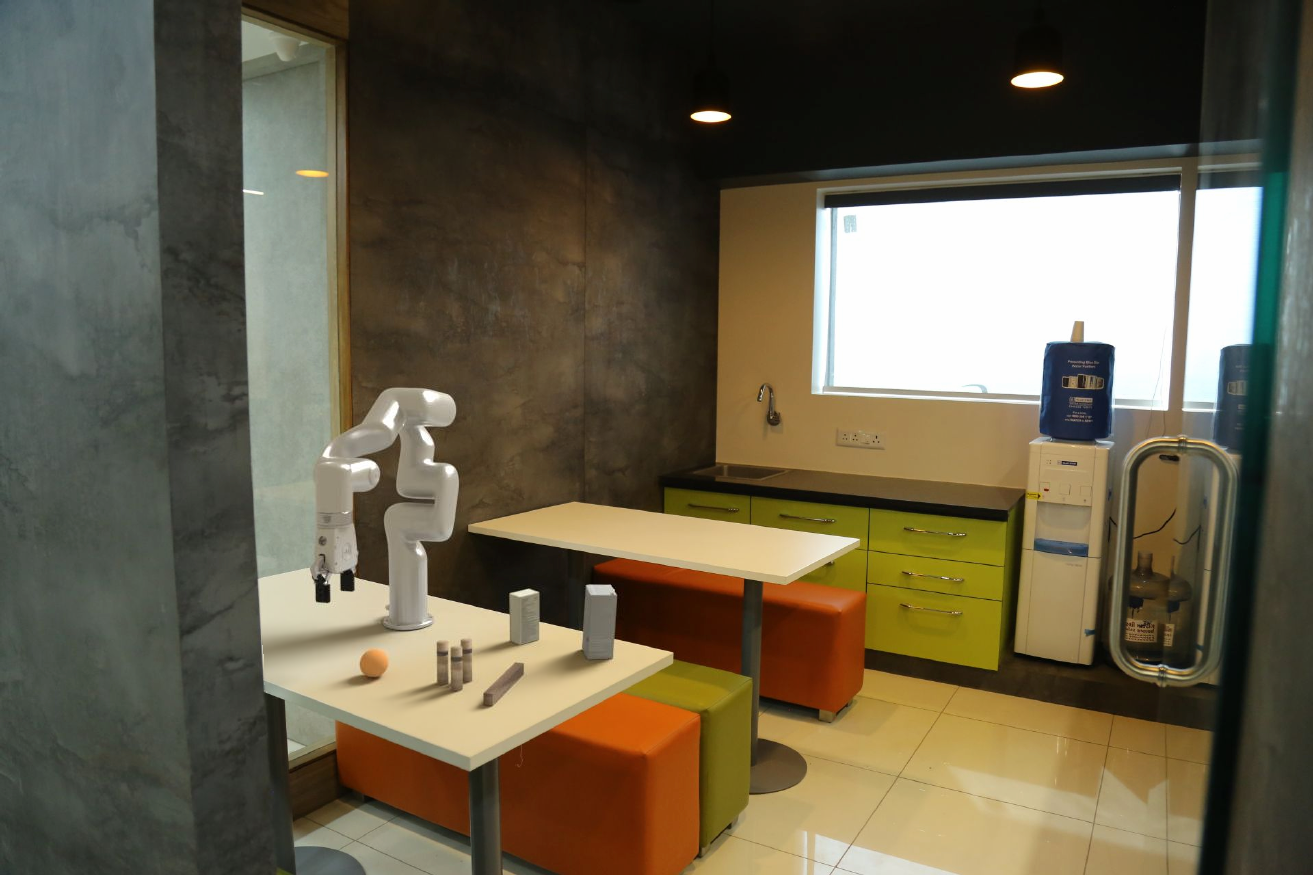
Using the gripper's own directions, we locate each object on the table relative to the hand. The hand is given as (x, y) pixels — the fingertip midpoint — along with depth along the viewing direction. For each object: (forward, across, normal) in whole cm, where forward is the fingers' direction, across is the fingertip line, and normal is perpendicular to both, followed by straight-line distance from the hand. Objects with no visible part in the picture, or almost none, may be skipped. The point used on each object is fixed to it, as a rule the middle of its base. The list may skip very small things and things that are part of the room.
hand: (335, 596), depth 191 cm
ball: (+14, 0, -9) cm, 17 cm away
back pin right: (+17, -3, -29) cm, 34 cm away
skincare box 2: (+17, +25, -53) cm, 61 cm away
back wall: (+17, 0, -39) cm, 43 cm away
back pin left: (+17, +2, -29) cm, 34 cm away
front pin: (+17, 0, -25) cm, 30 cm away
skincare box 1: (+17, +30, -33) cm, 48 cm away
